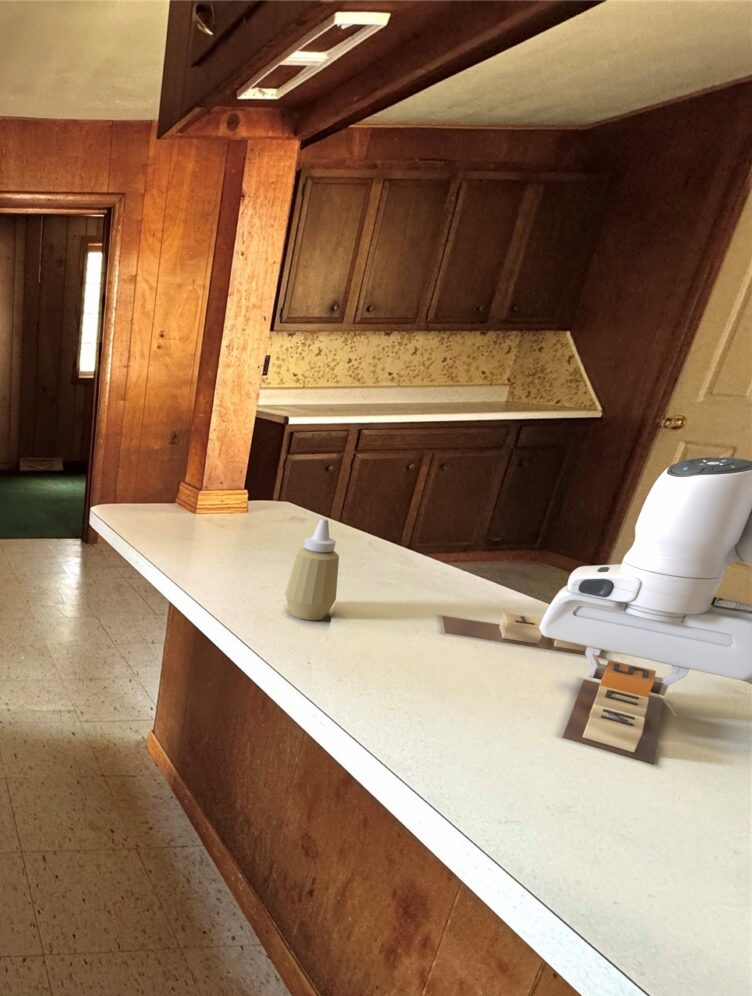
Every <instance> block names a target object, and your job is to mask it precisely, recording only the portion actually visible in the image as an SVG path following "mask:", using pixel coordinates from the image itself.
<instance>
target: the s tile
mask: <svg viewBox="0 0 752 996" xmlns="http://www.w3.org/2000/svg"><path fill="white" fill-rule="evenodd" d="M606 665H607V667H606V670H605V672H604V675H603V678H602V680H600V682H599V683H600V686H604V687H608V688H612V689H616V690H620V691H624V692H628V693H632V694H636V695H640V696H644V697H648V696H650V693H651V692H650V691H651V689H652V686H653V684H654V679H655V677H656V673H657V670H655V669H650V668H646V667H643V666H641V667H640V666H637V665H632V664H628V663H624V662H619V661H615V660H612V659H611V660H610V659H608V661H607V663H606ZM600 686H599V687H600Z"/></svg>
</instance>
